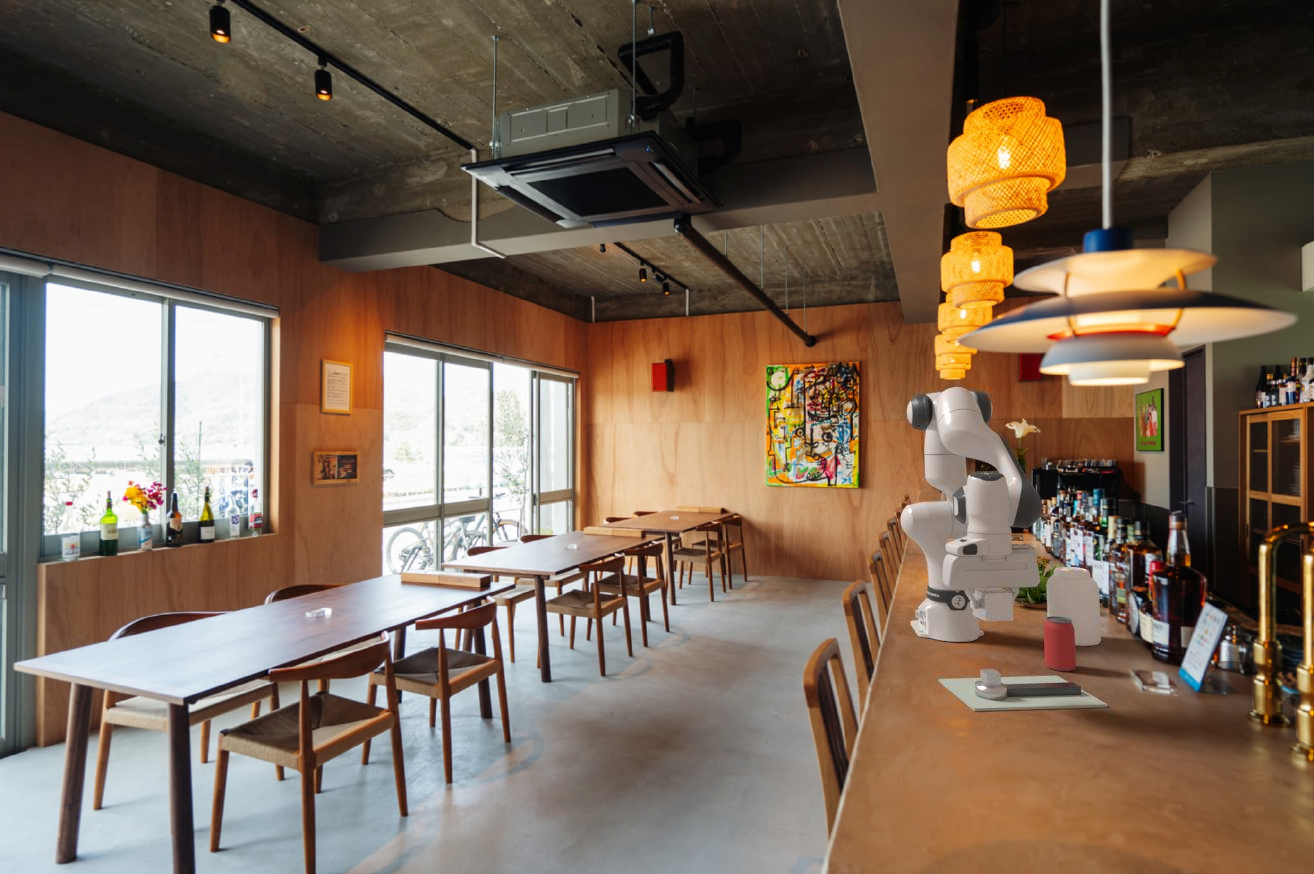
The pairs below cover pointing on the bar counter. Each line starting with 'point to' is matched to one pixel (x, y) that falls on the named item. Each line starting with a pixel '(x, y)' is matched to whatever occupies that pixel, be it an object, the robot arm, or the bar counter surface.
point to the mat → (966, 693)
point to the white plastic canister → (1076, 602)
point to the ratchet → (1019, 687)
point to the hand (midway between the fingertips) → (992, 608)
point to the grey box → (994, 604)
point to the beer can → (1059, 644)
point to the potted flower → (1037, 587)
